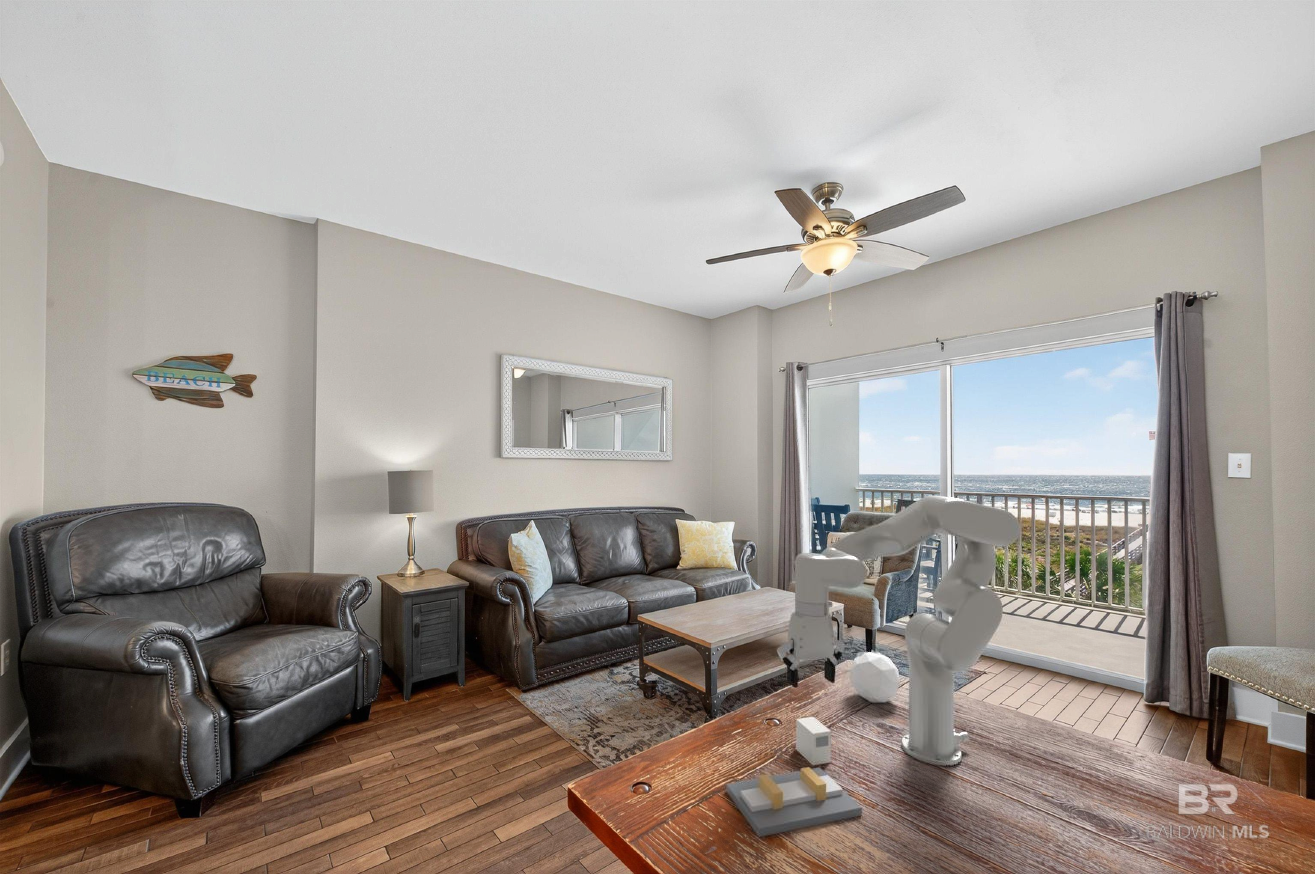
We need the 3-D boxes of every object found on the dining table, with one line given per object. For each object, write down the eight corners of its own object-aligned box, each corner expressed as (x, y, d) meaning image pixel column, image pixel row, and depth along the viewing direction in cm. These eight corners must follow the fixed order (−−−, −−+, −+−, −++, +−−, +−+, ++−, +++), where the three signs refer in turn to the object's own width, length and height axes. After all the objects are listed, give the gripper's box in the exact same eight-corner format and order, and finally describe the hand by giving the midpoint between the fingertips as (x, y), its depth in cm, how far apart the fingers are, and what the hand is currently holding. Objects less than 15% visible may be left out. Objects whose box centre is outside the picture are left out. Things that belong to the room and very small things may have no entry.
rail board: (819, 774, 118) (819, 753, 118) (861, 815, 105) (861, 791, 105) (726, 791, 111) (726, 768, 112) (758, 836, 98) (759, 811, 98)
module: (812, 746, 130) (813, 716, 130) (831, 762, 123) (831, 731, 123) (795, 749, 128) (796, 719, 128) (813, 766, 121) (813, 734, 122)
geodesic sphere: (840, 685, 151) (872, 648, 150) (833, 667, 164) (862, 632, 163) (883, 721, 149) (916, 684, 148) (872, 699, 162) (902, 665, 161)
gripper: (834, 601, 132) (833, 672, 132) (770, 606, 127) (769, 680, 127) (853, 609, 125) (853, 685, 125) (786, 615, 120) (786, 693, 120)
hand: (811, 682), depth 126 cm, fingers open, 9 cm apart
